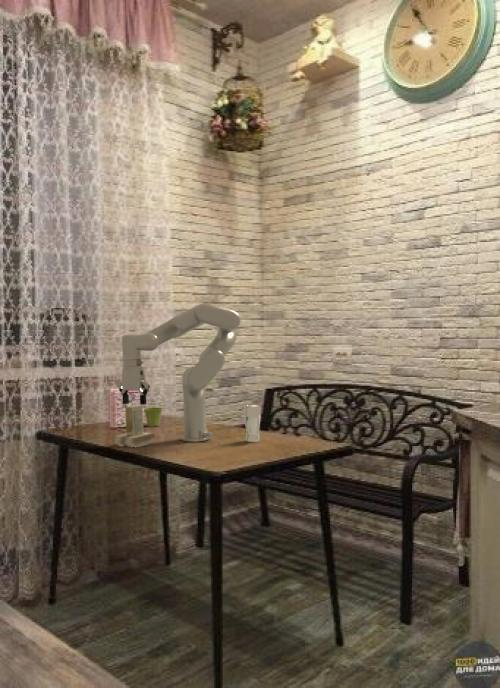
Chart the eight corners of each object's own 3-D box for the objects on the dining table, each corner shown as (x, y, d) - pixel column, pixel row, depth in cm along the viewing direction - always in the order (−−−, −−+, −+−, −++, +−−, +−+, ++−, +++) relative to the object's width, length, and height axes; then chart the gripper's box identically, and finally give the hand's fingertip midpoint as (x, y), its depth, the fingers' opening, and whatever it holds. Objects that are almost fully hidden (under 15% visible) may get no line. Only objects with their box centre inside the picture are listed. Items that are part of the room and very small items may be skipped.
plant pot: (165, 424, 305) (164, 407, 304) (160, 427, 295) (159, 409, 295) (147, 424, 306) (146, 407, 305) (142, 427, 296) (141, 410, 296)
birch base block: (154, 442, 255) (154, 433, 255) (135, 447, 245) (135, 438, 245) (133, 440, 261) (133, 431, 261) (114, 445, 251) (113, 436, 251)
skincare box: (136, 433, 257) (136, 404, 256) (144, 433, 254) (143, 405, 254) (125, 435, 251) (124, 406, 251) (132, 436, 249) (131, 407, 249)
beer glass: (259, 442, 249) (258, 406, 249) (243, 442, 250) (242, 406, 250) (262, 439, 256) (261, 404, 255) (246, 439, 257) (245, 404, 257)
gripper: (153, 362, 251) (156, 403, 251) (123, 363, 260) (125, 402, 260) (141, 364, 244) (144, 405, 245) (110, 364, 253) (113, 404, 254)
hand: (134, 404), depth 253 cm, fingers open, 9 cm apart
